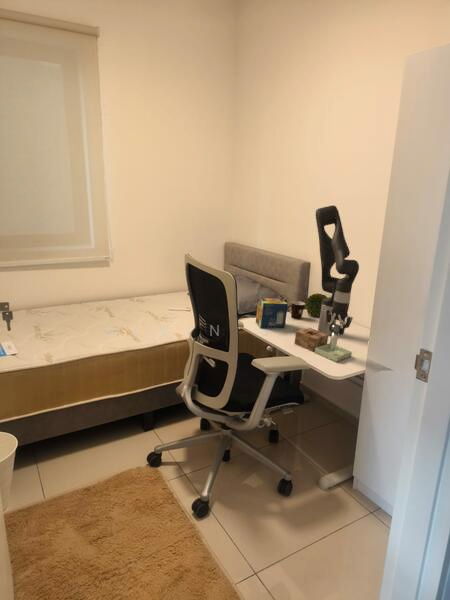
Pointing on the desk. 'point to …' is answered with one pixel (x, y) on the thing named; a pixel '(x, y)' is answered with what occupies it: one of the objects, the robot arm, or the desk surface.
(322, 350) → the sage tray
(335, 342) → the steel pin
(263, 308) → the protein box
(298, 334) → the brown wooden block
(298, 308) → the coffee mug
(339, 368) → the desk surface
